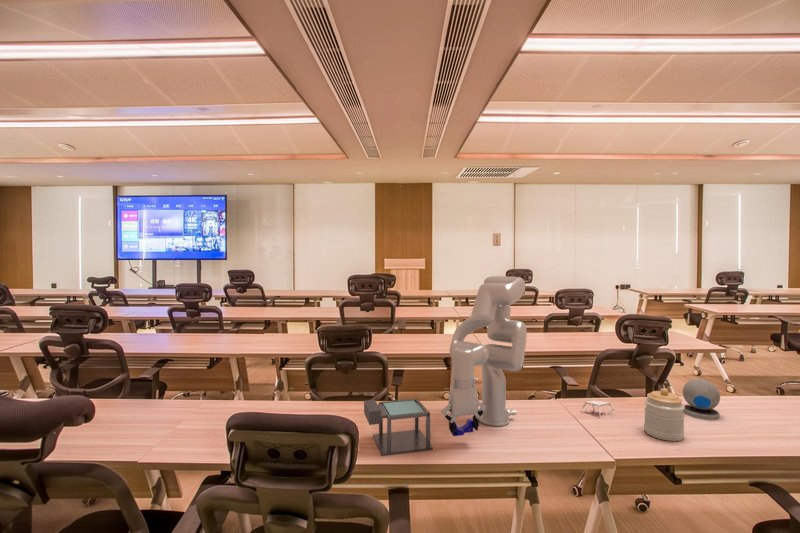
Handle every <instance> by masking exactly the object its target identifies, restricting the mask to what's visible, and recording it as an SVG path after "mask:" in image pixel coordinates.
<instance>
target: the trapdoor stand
mask: <svg viewBox="0 0 800 533" xmlns="http://www.w3.org/2000/svg"><path fill="white" fill-rule="evenodd" d="M413 400H414V401H415V402H416V404H417V405H418V406H419V407H420V408H421V410H422V411H423V412H424V413H415V414H405V415H396V416H389V415H388V416H387V418H386V432H384V430H383V429H384V426H383V425H384V424H383V422H384V418H383V419H381V424H378V433H374V434H372V438H373V439H374V441H375V444H376V446H378V447H377V449H378V452H379V453H380V455H381V457H386V456H394V455H402V454H410V453H419V452H426V451H433V449H434V446H432V445H431V413H430V411H429V410H428V409H427V408H426V406H425V405H423V402H421V401H420V399H418V398H411V399H409V398H408V399H398V400H389V401H386V400H385V401H379V402H378V404H382V405H383V403H391V402H402V401H413ZM422 417H423V418H424V417H425V434H424V433H423V431H422V430H421V429H419V427H420V426H419V424H420V422H419V418H422ZM413 418H414V429H410V430H400V431H392V421H394V420H396V421H397V420H402V419H413Z"/></svg>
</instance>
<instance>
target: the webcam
mask: <svg viewBox="0 0 800 533" xmlns="http://www.w3.org/2000/svg"><path fill="white" fill-rule="evenodd" d="M682 395H683V398H684V400H685V402H686V403H687V404H685V405H684V404H683V405H684V406H685V409H684V410H683V414H684V415H687V416H690V417H692V418H696V419H699V420H700V419H701V420H707V421H710V420H712V421H714V420H716V421H717V420H718V419H720V417H721V416H720V412H719V411H717V410H716V409H715V408H716V407H718V405H719V403H720V400H721V394H720V391H719V390H718V388H717V387H716V386H715V385H714V383H712V382H710V381H709V380H706V379H702V378H694V379H691V380H689V381H687V382H686V383H685V384H684V385H683V388H682Z"/></svg>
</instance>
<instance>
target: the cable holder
mask: <svg viewBox="0 0 800 533" xmlns="http://www.w3.org/2000/svg"><path fill="white" fill-rule="evenodd" d="M454 423H455V434H453V433H452V432H451V431H450V430H449V431H450V433H451V435H452V437H459V436H464V435H465V434H468V433H474V428H473V418H469V419H468V418H467V419H466V423H465V424H464V425H463V426H458V425H457V423H456V421H455V420H454Z"/></svg>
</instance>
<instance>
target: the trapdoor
mask: <svg viewBox="0 0 800 533" xmlns="http://www.w3.org/2000/svg"><path fill="white" fill-rule="evenodd" d="M363 413H364V416H365V418H366V420H367V423H368V425H369V426H373V425H374V426H375V425H379V424H381V419H383V420H384V419H387V416H396V415H405V414H415V413H424V412H423V410H422V409H421V408H420V407H419V406H418V405H417V404H416V402H415V401H414V400H413V401H402V402H391V403H383V405H382V404H379V403H377V401H376V400H375V399H367V400H363Z"/></svg>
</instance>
